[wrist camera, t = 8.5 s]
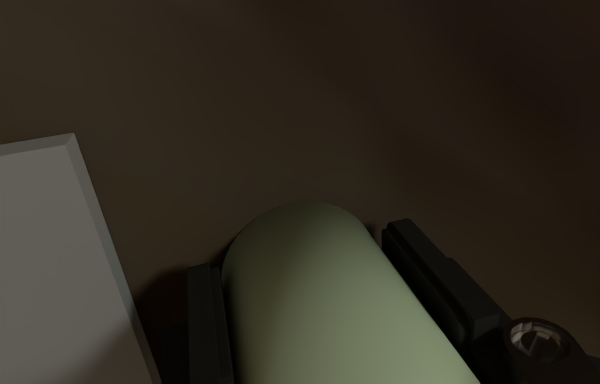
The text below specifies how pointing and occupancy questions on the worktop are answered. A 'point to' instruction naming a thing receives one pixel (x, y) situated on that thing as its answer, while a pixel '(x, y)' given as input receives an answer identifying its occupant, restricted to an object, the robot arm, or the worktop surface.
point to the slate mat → (62, 276)
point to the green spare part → (327, 306)
